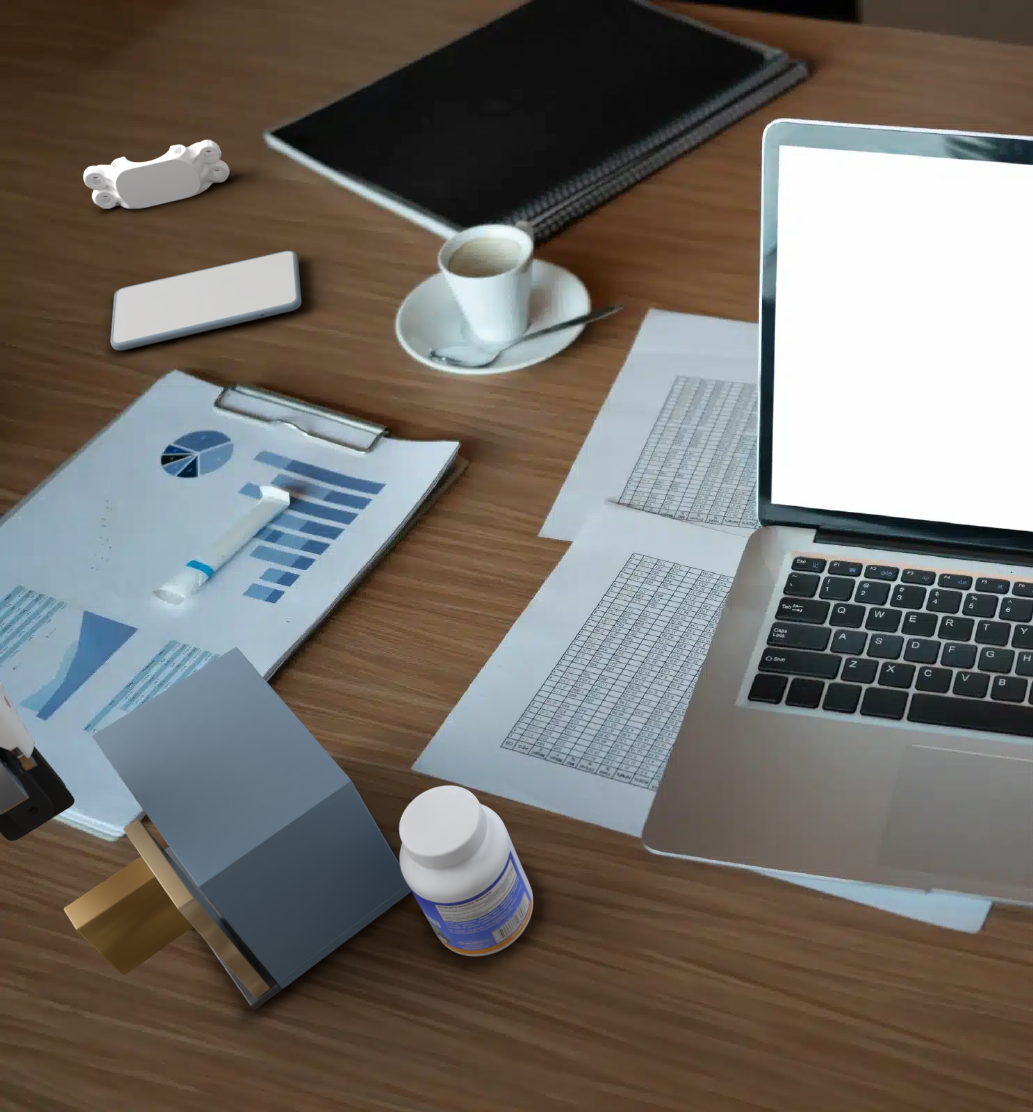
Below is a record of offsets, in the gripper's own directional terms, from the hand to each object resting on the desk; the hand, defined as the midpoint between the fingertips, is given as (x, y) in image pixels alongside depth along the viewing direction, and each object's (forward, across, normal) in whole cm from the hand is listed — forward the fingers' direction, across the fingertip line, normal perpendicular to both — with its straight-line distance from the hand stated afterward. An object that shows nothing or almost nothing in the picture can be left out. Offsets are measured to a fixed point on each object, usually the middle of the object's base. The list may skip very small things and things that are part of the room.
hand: (38, 812), depth 63 cm
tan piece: (+11, +6, +1) cm, 12 cm away
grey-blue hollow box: (+11, +3, +8) cm, 14 cm away
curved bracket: (+10, -69, +34) cm, 78 cm away
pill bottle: (+12, +13, +14) cm, 22 cm away
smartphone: (+10, -50, +29) cm, 59 cm away
